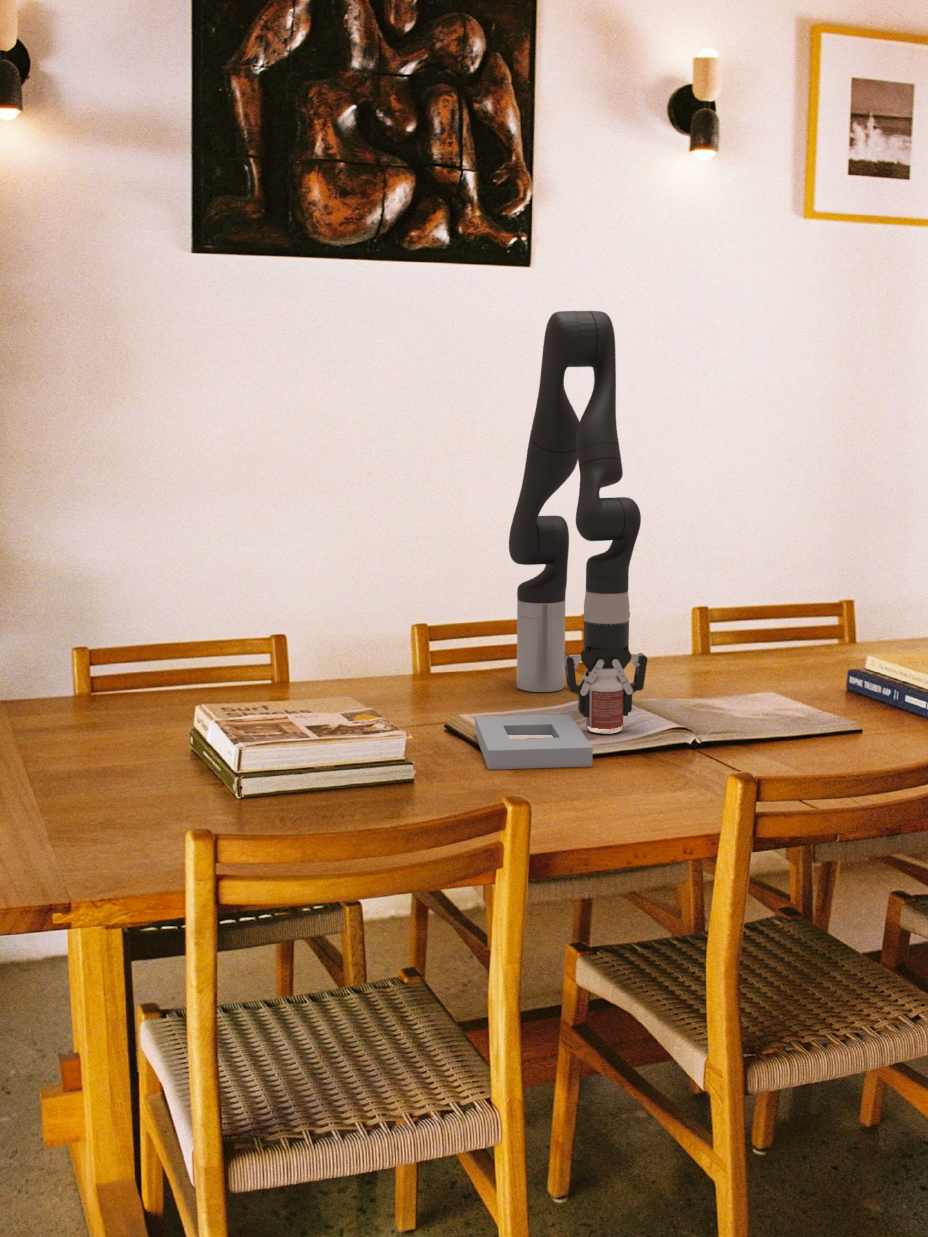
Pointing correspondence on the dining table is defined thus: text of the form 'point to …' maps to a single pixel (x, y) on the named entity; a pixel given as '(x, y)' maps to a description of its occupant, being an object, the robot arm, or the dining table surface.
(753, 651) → the dining table surface
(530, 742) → the socket board
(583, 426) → the robot arm
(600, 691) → the pill bottle
